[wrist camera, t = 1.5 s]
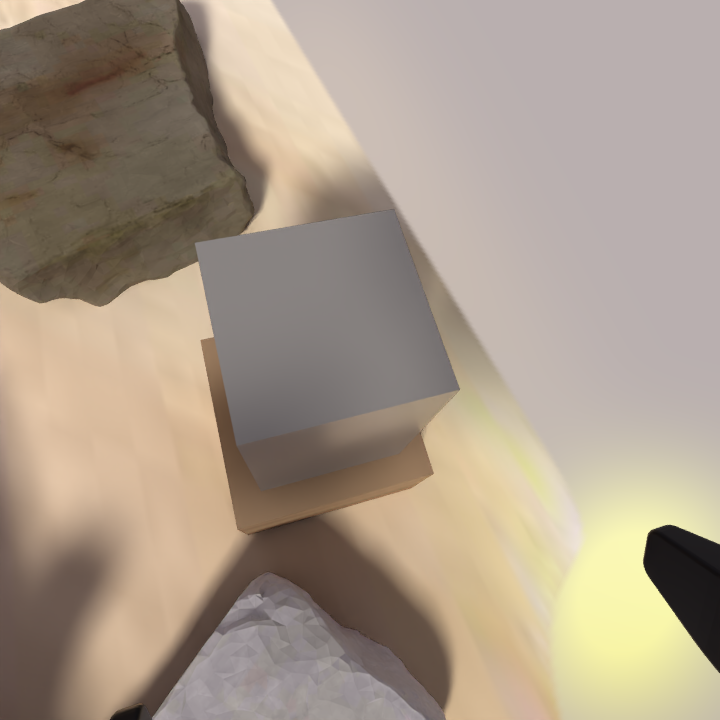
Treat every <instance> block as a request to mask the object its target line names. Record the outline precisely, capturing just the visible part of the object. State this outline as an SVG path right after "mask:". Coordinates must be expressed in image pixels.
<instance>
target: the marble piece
mask: <svg viewBox="0 0 720 720" xmlns="http://www.w3.org/2000/svg"><path fill="white" fill-rule="evenodd" d="M212 105H213V98H212V94H211V92H210V87H209V81H208V73H207V67H206V62H205V59H204V56H203V52H202V49H201V46H200V44H199V41H198V38H197V34H196V33H195V30H194V26H193V23H192V21H191V18H190V16H189V14H188V13H187V11H186V9H185V8H184V6H183V5H182V4H181V2H180V0H85V1H83V2H81V3H79V4H76V5H72V6H69V7H65V8H62V9H59V10H56V11H52V12H49V13H45V14H42V15H39V16H36V17H34V18H32V19H30V20H27V21H25V22H23V23H20V24H18V25H15V26H13V27H11V28H7V29H3V30H0V282H1V283H2V284H3V285H5V286H6V287H7V288H9V289H10V290H12V291H14V292H16V293H17V294H19V295H21V296H23V297H25V298H28V299H30V300H33V301H35V302H38V303H45V302H48V301H51V300H54V299H59V298H69V299H81V300H83V301H85V302H88V303H90V304H92V305H95V306H99V307H101V306H104V305H107V304H108V303H110V302H111V301H112V300H113V299H115V298H116V297H117V296H118V295H120V294H121V293H122V292H123V291H125V290H126V289H128V288H129V287H130V286H133V285H135V284H138V283H140V282H143V281H146V280H155V279H161V278H165V277H168V276H170V275H171V274H172V273H174V272H175V271H178V270H180V269H182V268H185V267H187V266H189V265H191V264H193V263H195V262H197V261H198V256H197V251H196V246H195V243H197V242H203V241H208V240H214V239H220V238H226V237H232V236H237V235H239V234H240V233H242V232H243V230H244V228H245V226H246V224H247V222H248V221H249V220H250V219H251V218H252V217H253V215H254V207H253V203H252V201H251V200H250V196H249V194H248V192H247V188H246V182H245V178H244V177H243V176H242V175H241V174H240V173H239V172H238V171H237V170H235V169H234V167H233V165H232V164H231V162H230V160H229V158H228V156H227V148H226V143H225V141H224V139H223V137H222V135H221V133H220V132H219V130H218V128H217V124H216V122H215V120H214V115H213V110H212Z"/></svg>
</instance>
